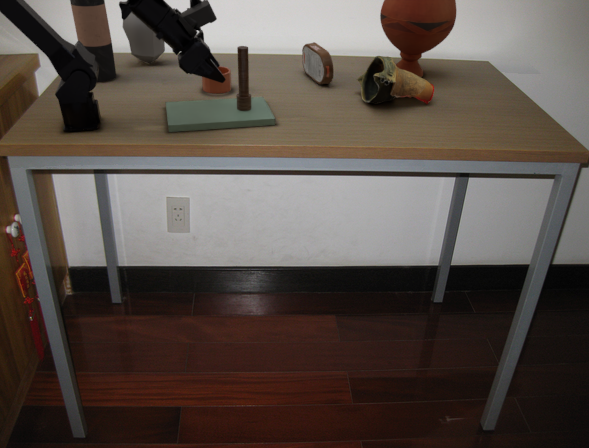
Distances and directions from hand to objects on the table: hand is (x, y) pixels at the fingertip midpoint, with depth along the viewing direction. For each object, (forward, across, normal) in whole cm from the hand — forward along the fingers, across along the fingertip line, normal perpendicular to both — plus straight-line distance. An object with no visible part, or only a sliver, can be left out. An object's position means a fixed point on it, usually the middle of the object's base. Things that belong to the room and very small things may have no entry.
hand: (221, 73), depth 103 cm
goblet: (+45, +22, -32) cm, 59 cm away
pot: (+34, +2, -21) cm, 40 cm away
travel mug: (-12, +30, +26) cm, 41 cm away
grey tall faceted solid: (-4, +40, +17) cm, 44 cm away
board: (+6, 0, +7) cm, 9 cm away
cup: (+7, +16, +6) cm, 19 cm away
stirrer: (+9, 0, +2) cm, 9 cm away
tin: (+26, +21, -13) cm, 36 cm away
